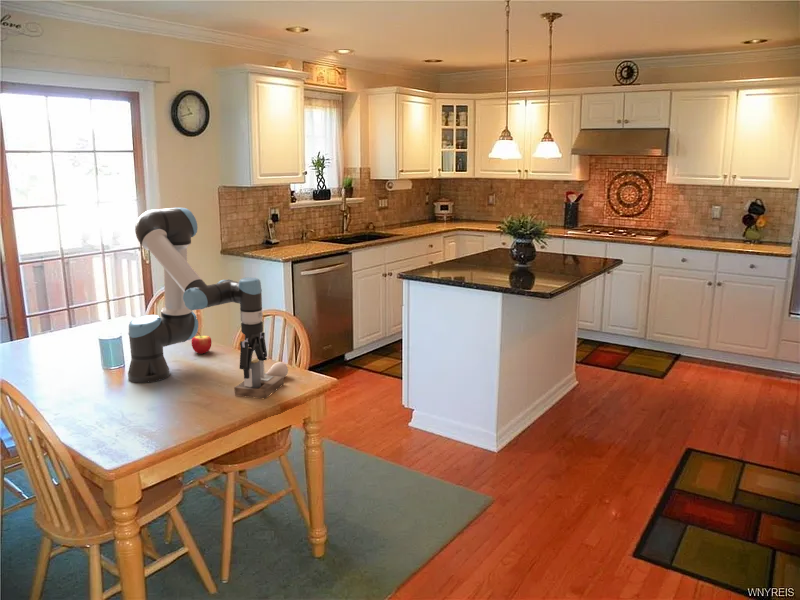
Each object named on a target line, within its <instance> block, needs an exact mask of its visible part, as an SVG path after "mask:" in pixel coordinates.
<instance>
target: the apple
mask: <svg viewBox="0 0 800 600" xmlns="http://www.w3.org/2000/svg"><path fill="white" fill-rule="evenodd" d="M197 334H198V335H195V336H194V337H193V338H192V339H191V347H192V349H193V351H194V352H195V353H196V354H199V355H200V354H201V355H202V354H203V353H204V354H206V352H207V353H208V352H209V351H210V350H211V348H212V338H211V337H210V336H209V335H201V333H199V331H197Z"/></svg>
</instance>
